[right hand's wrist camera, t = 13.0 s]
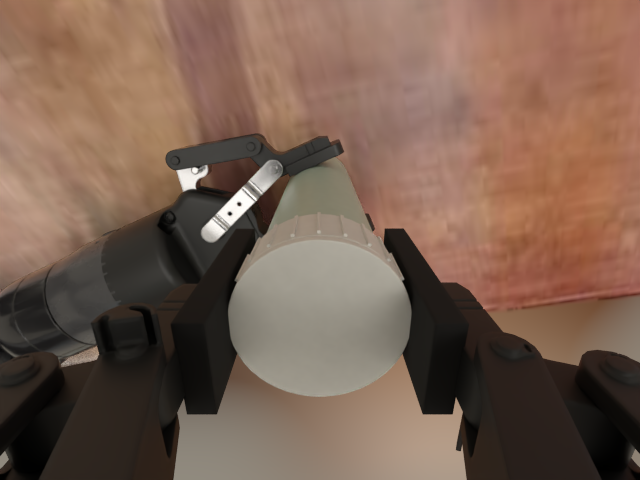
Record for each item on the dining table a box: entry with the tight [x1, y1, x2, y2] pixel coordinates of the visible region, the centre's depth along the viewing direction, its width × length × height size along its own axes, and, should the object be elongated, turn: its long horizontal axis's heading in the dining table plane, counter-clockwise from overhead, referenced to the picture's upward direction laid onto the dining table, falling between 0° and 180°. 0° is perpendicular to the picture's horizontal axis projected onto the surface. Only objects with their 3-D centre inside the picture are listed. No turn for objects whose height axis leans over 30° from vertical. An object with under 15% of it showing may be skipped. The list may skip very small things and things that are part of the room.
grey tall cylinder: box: [266, 157, 373, 234], centre depth 20 cm, size 5×5×20 cm
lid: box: [228, 212, 412, 397], centre depth 11 cm, size 6×6×2 cm
